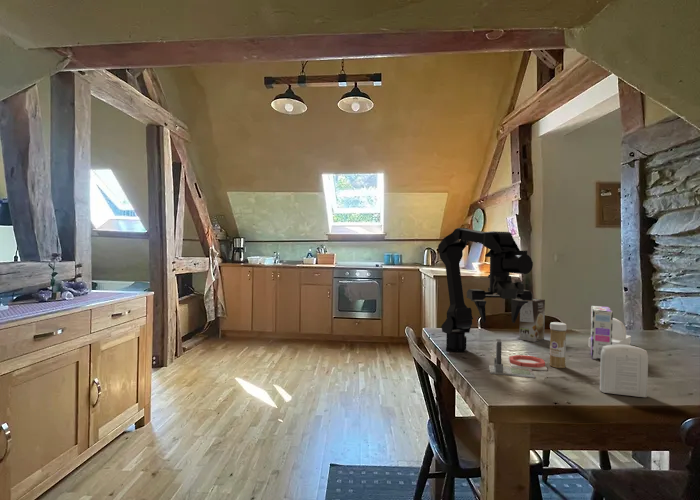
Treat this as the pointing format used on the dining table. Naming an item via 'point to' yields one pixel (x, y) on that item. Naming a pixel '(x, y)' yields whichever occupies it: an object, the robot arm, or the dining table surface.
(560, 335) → the sprinkles bottle
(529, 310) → the coffee box
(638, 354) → the photo printer
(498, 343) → the block
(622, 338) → the u-slot stand
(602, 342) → the candy box
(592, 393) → the dining table surface
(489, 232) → the robot arm
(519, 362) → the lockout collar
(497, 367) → the panel
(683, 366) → the dining table surface
